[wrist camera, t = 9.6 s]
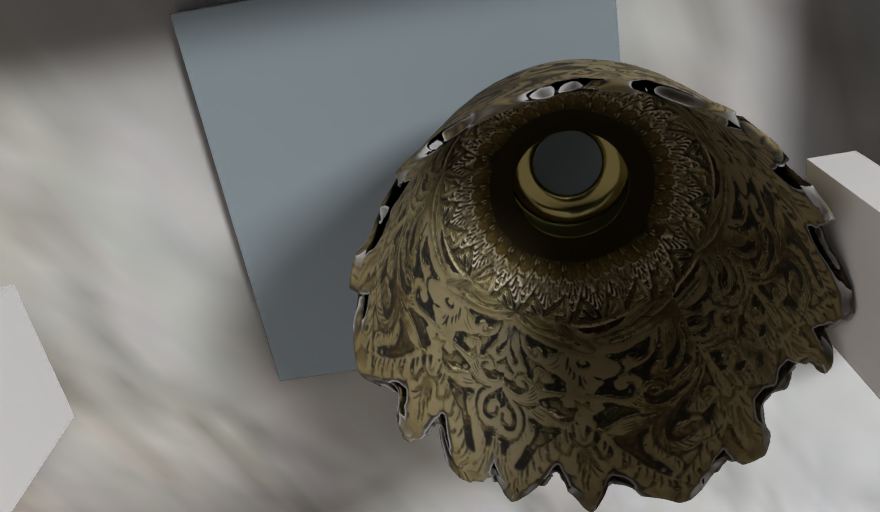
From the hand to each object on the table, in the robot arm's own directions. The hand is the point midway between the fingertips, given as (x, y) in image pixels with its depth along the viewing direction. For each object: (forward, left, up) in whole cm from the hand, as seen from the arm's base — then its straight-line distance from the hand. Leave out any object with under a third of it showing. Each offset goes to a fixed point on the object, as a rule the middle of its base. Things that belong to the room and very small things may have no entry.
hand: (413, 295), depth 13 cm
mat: (0, 0, -7) cm, 7 cm away
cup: (0, +4, -7) cm, 8 cm away
